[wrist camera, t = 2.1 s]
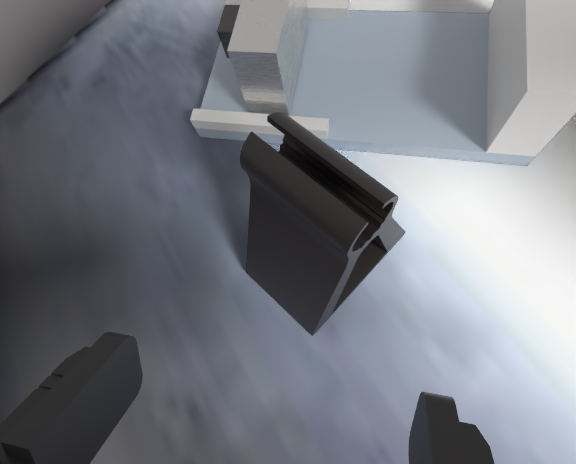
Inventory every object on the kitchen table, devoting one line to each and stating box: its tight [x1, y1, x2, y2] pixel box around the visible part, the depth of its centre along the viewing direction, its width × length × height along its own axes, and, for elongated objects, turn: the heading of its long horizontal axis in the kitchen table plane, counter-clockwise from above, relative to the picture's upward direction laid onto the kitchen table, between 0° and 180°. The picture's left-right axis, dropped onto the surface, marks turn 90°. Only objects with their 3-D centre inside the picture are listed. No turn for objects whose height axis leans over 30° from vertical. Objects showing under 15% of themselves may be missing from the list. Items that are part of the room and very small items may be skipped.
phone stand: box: [240, 112, 405, 336], centre depth 20 cm, size 9×6×12 cm, turn 136°
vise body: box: [190, 0, 576, 166], centre depth 27 cm, size 24×12×7 cm, turn 80°
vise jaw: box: [217, 0, 309, 116], centre depth 27 cm, size 5×9×6 cm, turn 170°
